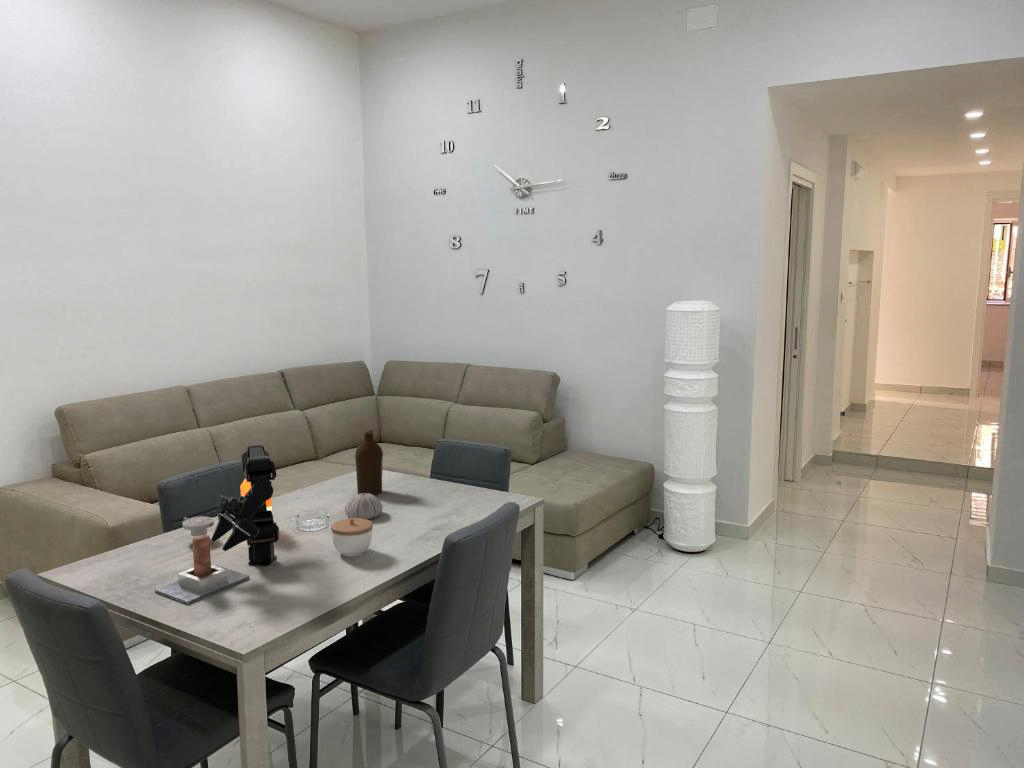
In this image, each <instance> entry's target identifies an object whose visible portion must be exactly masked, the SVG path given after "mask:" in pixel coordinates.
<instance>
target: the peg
mask: <svg viewBox="0 0 1024 768" xmlns="http://www.w3.org/2000/svg"><path fill="white" fill-rule="evenodd" d="M192 554H193V568H194V576H196V577H199V578H201V577H204V576H206V575H209V574H211V565H212V559H211V537H210V535H207V534H206V535H198V536H195V537H194V536H192Z"/></svg>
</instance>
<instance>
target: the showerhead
mask: <svg viewBox="0 0 1024 768" xmlns="http://www.w3.org/2000/svg"><path fill="white" fill-rule="evenodd" d="M214 525H215V518H213V517H210V516H207V515H206V516H202V515H201V516H192V517H190V518H188V517H186V516H184V517H183V522H182V528H183V530H187V531H190V535H191V537H195V536H198V535H207V534H208V529H209V528H212V527H213V526H214Z"/></svg>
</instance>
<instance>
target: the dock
mask: <svg viewBox="0 0 1024 768" xmlns="http://www.w3.org/2000/svg"><path fill="white" fill-rule="evenodd" d="M247 579H248V580H250V579H251V578H250V575H247V574H245V573H242V572H238V571H235V570H232V569H229V568H226V567H223V566H221V565H218V564H217V565H214V564H211V574H209V575H206V576H204V577H201V578H199V577H196V576H194V567H192V568H189V569H187V570H184V571H181V572H179V573H177V580H176V581H173V582H171V583H168V584H166V585H163V586H160V587H158V588H155V589H154V593H155V592H157V593H156V594H158V593H159V594H158V595H161V594H163V595H165V596H164V597H166V596H168V597H167V598H169V597H170V598H169V599H171V598H174V599H177V600H179V601H182V602H184V603H186V604H185V605H187V604H188V603H190V604H192V603H191V602H193V601H195V602H197V601H196V600H198V599H200V600H202V599H205V598H207V597H209V595H210V596H211V595H214V594H216V593H219V592H222V591H224V590H226V589H228V588H230V587H233V586H235V585H238V584H240V583H242V582H245V581H248V580H247ZM163 595H162V596H163ZM204 597H205V598H204ZM201 598H202V599H201ZM174 599H173V600H174ZM179 601H178V602H179ZM198 601H199V600H198ZM182 602H181V603H182ZM184 603H183V604H184ZM193 603H194V602H193ZM188 605H189V604H188Z"/></svg>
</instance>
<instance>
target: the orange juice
mask: <svg viewBox="0 0 1024 768" xmlns="http://www.w3.org/2000/svg"><path fill="white" fill-rule="evenodd" d="M250 488H251V484H250V482H247V480H246V479H245V478H244V479H243V482H242V483H241V484H240V496H241V495H242V496H243V497H244V496H245V495H246V493H247V492H248V491H249V489H250ZM266 506H267V511H268V510H271V512H272V513H273V511H272V510H273V507H272V497H271V498H270V499H269V500H267V501H266Z"/></svg>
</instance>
